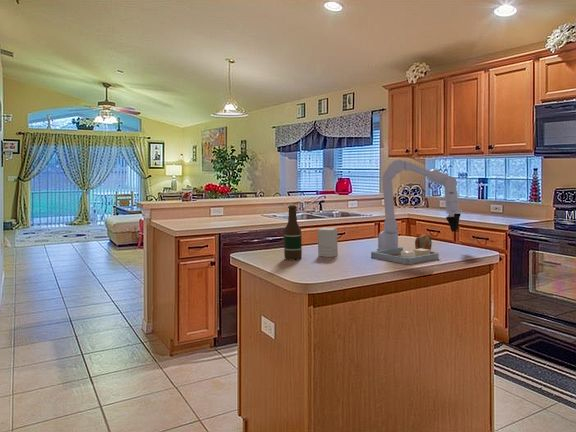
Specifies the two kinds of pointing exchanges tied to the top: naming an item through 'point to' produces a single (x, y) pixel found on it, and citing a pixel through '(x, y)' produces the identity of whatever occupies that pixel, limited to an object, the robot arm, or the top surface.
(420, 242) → the tin
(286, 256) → the beer bottle
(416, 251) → the kraft box
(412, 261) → the tray
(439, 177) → the robot arm
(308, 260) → the top surface
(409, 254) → the white short round piece
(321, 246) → the supplement box
